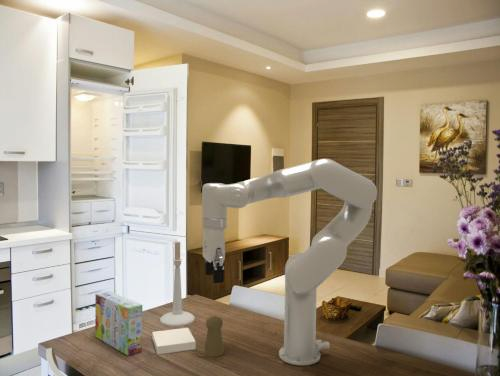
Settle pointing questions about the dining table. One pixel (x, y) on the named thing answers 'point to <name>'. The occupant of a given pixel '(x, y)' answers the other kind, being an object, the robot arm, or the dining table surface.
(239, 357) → the dining table surface
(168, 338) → the tile base
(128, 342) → the snack box
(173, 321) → the candlestick
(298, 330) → the robot arm
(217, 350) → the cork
